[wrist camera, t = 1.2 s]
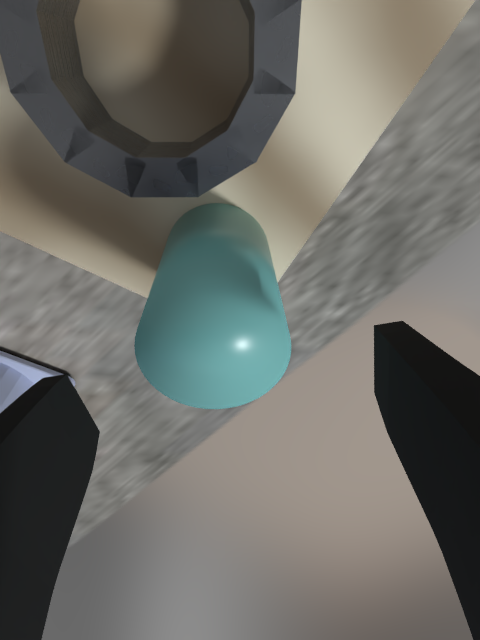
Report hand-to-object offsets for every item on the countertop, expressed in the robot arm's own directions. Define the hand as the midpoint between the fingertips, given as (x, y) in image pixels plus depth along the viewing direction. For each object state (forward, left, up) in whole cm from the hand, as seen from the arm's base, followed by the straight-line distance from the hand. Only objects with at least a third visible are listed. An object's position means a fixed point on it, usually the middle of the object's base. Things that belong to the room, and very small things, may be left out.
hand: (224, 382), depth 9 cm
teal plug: (-1, 0, -9) cm, 9 cm away
